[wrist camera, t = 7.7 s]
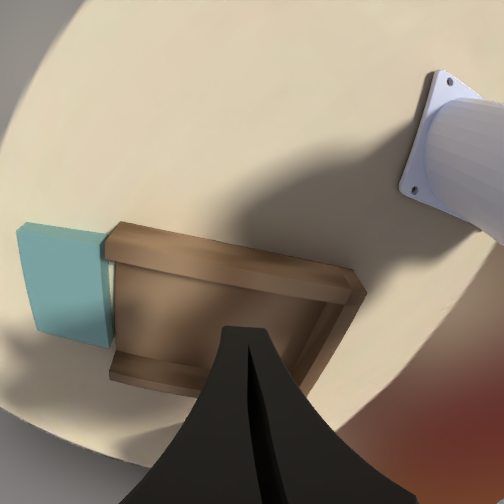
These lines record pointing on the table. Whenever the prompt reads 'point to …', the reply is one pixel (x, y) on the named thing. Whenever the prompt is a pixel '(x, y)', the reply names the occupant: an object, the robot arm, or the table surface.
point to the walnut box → (219, 307)
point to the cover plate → (67, 282)
